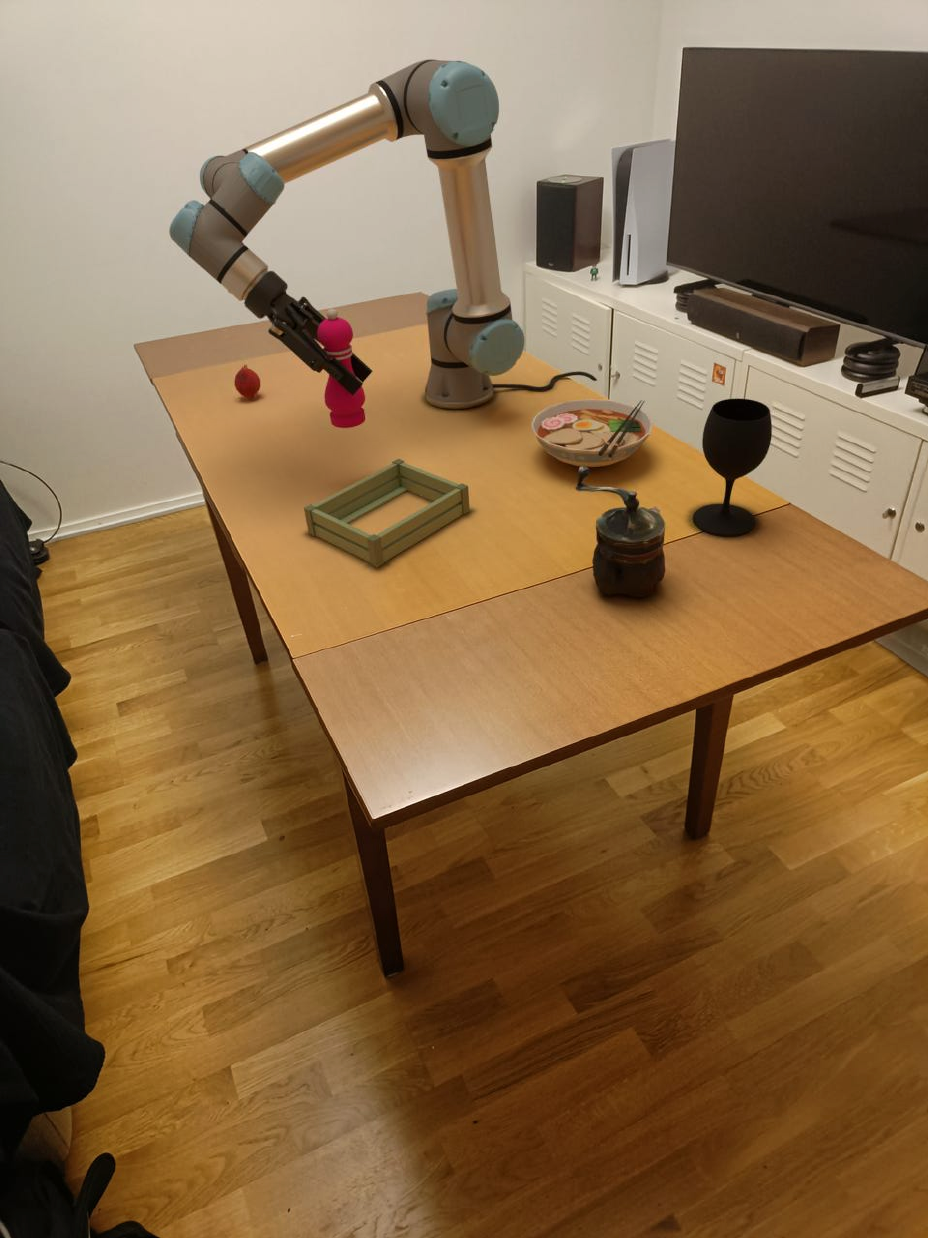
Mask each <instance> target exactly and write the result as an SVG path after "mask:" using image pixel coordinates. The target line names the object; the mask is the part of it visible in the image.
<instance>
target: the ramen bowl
mask: <svg viewBox="0 0 928 1238" xmlns="http://www.w3.org/2000/svg"><path fill="white" fill-rule="evenodd" d="M644 404H645V400H640V401H639V402H638V403H637V405H636V406H634V405H632V404H629V403H625V402H621V401H616V400H612V399H596V398H594V399H592V398H584V399H577V400H566V401H563V402H560V403H556V404H554V405H550V406H547V407H545V408H543V410H541V411H539V412H538V413H537V414H535V415H534V417H533V418H532V420H531V421H532V422H531V424H530V427H531V429H532V431H533V433H534V435H535V437H536V439H537V442H538V443H539V445H541V447H542V448H543V450H544V451H545V452H547V453H548V455H551V456H552V457H553V458H555V459H557V460H558V461H560V462H562V463H564V464H569V465H572V466H575V467H582V466H587V467H588V468H598V467H605V466H610V465H613V464H617V463H618V462H619V463H620V462H621V461H624V460H626V459H627V458H629V457H630V456H631V455H632V454H633V453H635V452H636V451H637V450H638V449H639V448H640V447H642V445H644V443H645V442H646V441H647V439H648V438H649V436H650V434H651V433H652V429H653V420H652V419H651V418H650V416H649V415H648V413H647V412H646V411H644V410H642V409H641V408H642V407H643V405H644Z"/></svg>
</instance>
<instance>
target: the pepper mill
mask: <svg viewBox="0 0 928 1238" xmlns="http://www.w3.org/2000/svg"><path fill="white" fill-rule="evenodd" d="M338 314H339V313H338V311H337V310H336V309H334V308H330V309H328V310H327V312H326V320H324V321H323V322H321V324H320V325H319V327H318V331H317V335H318V340H319V342H320V343H319V342H318V343H319V344H320V345H321V346H323V348H322V349H323V350H324V351H325V352H326V353H327V354H328V356H329V357H330V358H331V360H332V359H333V357H334V358H336V359H337V360H338V361H339V362H340V363H341V364H342V365H343V366H344V367H345V368H347V369H348V370H349V371H350V372H351V373H352V374H353V375H354V376H355V374H354V372H353V369H352V365H351V356H352V354H353V353H354V351H353V350H352V349H353V346H352V345H351V343H352V341H353V338H354V332H353V328H352V326H351V323H349V321H348V320H346V319H344V318H342V317H338ZM331 360H330V361H331ZM355 377H356V376H355ZM356 378H357V377H356ZM323 398H324V403H325V406H326V407H327V408H328V410H330V412H329V420H330V424H331V425H332V426H333V427H335V428H338V429H351V428H355V427H358V426H360V425H362V424H364V422H365V421H366V413H365V412H366V411H365V409H364V408H363V405H364V404H365V402H366V394H365V391H364V388H363V385H362V386H361V387H360V388H359V389H358V390H357V392H356V393H355V394H354V395H352V394H350V393H349V392H348V391H347V390H346V389H345V388H344V387H343V386H342V385H340V384H339V383H338V382H337V381H336V380H335V379H334V378H333V377H332V376H330V375H329V374H328V377H327V382H326V385H325V389H324V397H323Z"/></svg>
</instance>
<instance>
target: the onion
mask: <svg viewBox="0 0 928 1238" xmlns="http://www.w3.org/2000/svg"><path fill="white" fill-rule="evenodd" d="M233 383H234V387H235V390H236V391H237V392H238V393H239V395H241V396H243V397H245V398H247V399H253V398H254V397H255V396H256V394H258V392H259V391H260V389H261V379H260V377H259V375H258V373H256V372H255V370H252V369H250V368H248V365H247V364H246V363H245V364H242V365H241V368H240V370H238V372H237V373H236V374H235V377H234V382H233Z"/></svg>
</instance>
